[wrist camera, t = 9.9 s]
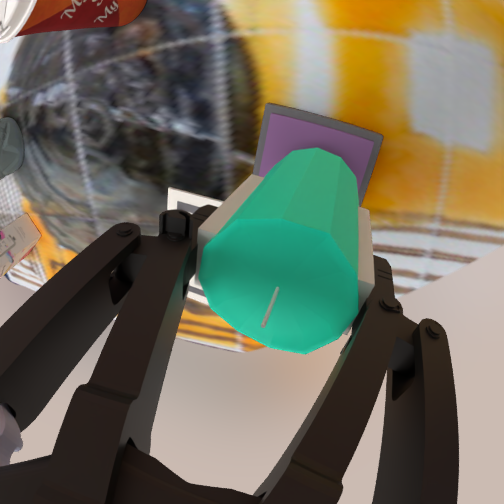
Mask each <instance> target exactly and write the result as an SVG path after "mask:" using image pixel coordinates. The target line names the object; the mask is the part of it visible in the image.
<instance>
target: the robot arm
mask: <svg viewBox="0 0 504 504" xmlns="http://www.w3.org/2000/svg"><path fill="white" fill-rule="evenodd" d="M263 179H264V177H260V176H257V175H253V174H252V175H251V176H250V177H249V178H248V179H247V180H246V181H245V182H243V183H242V184H241V185H240V186H239V187H238V188H237V189H236V190H235V191H234V192H233V193H232V194H231V195H230V196H229V197H228V198H227V199H226V200H225V201H224V202H223V203H222V204H221V205H220V206H219V207H216V206H213V205H209V204H207V205H205V206H202V207H199V208H198V209H197V210H196V211H195V212H194V213H193V214H191V213H189V212H187V211H184V210H177V209H173V210H167V211H165V212H162V213H161V214H160V216H159V235H158V236H146V235H141V230H140V227H139V226H138V225H136V224H134V223H128V222H126V223H125V222H124V223H120V224H116V225H115V226H113V227H111V228H110V229H109V230H108V231H106V232H105V233H104V234H102V235H101V236H100V237H99V238H98V239H96V240H95V241H94V242H93V243H91V244H90V245H89V246H88V247H86V248H85V249H84V250H83V251H82V252H81V253H79V254H78V255H77V256H76V257H75V258H73V259H72V260H71V261H70V262H69V263H68V264H66V265H65V266H64V267H63V268H62V269H61V270H60V271H59V272H57V273H56V274H55V275H54V276H53V277H52V278H51V279H50V280H48V281H47V282H46V283H45V284H44V285H43V286H42V287H41V288H40V289H39V290H38V291H37V292H36V293H34V294H33V296H31V297H30V298H29V299H28V300H27V301H26V302H25V303H24V304H23V305H22V306H21V307H20V308H19V309H18V310H17V311H16V312H15V313H14V314H13V315H12V316H11V317H10V318H9V319H8V320H7V321H6V322H5V323H4V324H3V325H2V326H1V327H0V504H337V502H338V501H339V499H340V496H341V494H342V491H343V485H342V478H343V476H344V473H345V472H346V469H347V467H348V465H349V463H350V461H351V459H352V457H353V455H354V452H355V451H356V448H357V446H358V443H359V441H360V439H361V437H362V434H363V432H364V430H365V427H366V425H367V423H368V420H369V418H370V415H371V412H372V410H373V407H374V405H375V402H376V399H377V397H378V394H379V391H380V388H381V385H382V382H383V379H384V376H385V373H386V370H387V383H386V402H385V415H384V426H383V436H382V445H381V453H380V460H379V467H378V473H377V480H376V486H375V491H374V496H373V502H372V504H457V496H458V479H459V478H458V477H459V436H458V417H457V404H456V394H455V385H454V377H453V369H452V363H451V356H450V350H449V345H448V339H447V335H446V332H445V330H444V328H443V327H442V326H441V325H440V324H439V323H438V322H436V321H434V320H432V319H427V318H426V319H423V320H422V321H421V322H420V323H419V324H417V323H415V322H413V321H411V320H409V319H408V318H407V317H405V316H404V315H403V308H402V306H401V304H400V302H399V301H398V300H397V299H396V298H395V295H394V286H393V281H392V280H393V278H392V270H391V266H390V265H389V263H388V261H387V260H386V259H384V258H381V257H378V256H375V255H373V246H372V234H371V223H370V213H369V210H367V209H364V208H361V207H359V206H358V230H359V257H358V291H359V309H358V314H357V316H356V317H355V318H354V320H353V321H352V322H351V324H350V325H349V326H348V327H347V329H346V330H345V331H344V332H343V334H345V335H347V334H348V332H349V331H350V329H351V327H352V335H351V336H350V338H349V339H348V341H347V343H346V344H345V346H344V348H343V349H342V351H341V353H340V354H341V355H340V357H339V359H338V361H337V363H336V365H335V367H334V369H333V371H332V372H331V374H330V376H329V378H328V380H327V382H326V384H325V386H324V387H323V389H322V391H321V393H320V395H319V396H318V398H317V400H316V402H315V403H314V405H313V407H312V409H311V410H310V412H309V414H308V415H307V417H306V419H305V420H304V422H303V424H302V425H301V427H300V429H299V430H298V432H297V433H296V435H295V437H294V438H293V440H292V442H291V443H290V444H289V446H288V448H287V449H286V451H285V452H284V454H283V455H282V457H281V458H280V460H279V461H278V463H277V464H276V466H275V467H274V469H273V470H272V471H271V473H270V474H269V476H268V477H267V478H266V479H265V481H264V482H263V483H262V484H261V485H260V487H259V488H258V489H257V490H256V492H255V493H254V494H253V495H249V494H246V493H243V492H239V491H236V490H233V489H227V488H218V487H210V486H203V485H196V484H191V483H188V482H186V481H185V480H183V479H182V478H180V477H179V476H178V475H176V474H175V473H174V472H172V471H171V470H170V469H168V468H167V467H166V466H165V465H163V464H162V463H161V462H159V461H158V460H157V459H156V458H154V457H152V456H150V455H149V453H150V445H151V431H152V426H153V422H154V418H155V414H156V410H157V405H158V401H159V397H160V393H161V389H162V385H163V381H164V378H165V374H166V370H167V366H168V362H169V358H170V355H171V351H172V347H173V344H174V340H175V337H176V333H177V329H178V326H179V322H180V319H181V315H182V312H183V308H184V305H185V302H186V298H187V295H188V291H189V282H190V280H191V278H192V277H193V276H194V274H195V278H194V284H195V285H198V286H201V284H200V281H199V279H198V275H199V270H200V265H201V259H202V254H203V249H204V246H205V245H206V244H207V243H208V242H209V240H210V239H211V238H212V237H214V236H215V235H216V234H217V233H218V232H219V231H220V230H221V228H222V227H223V226H224V225H225V224H226V222H227V221H228V220H229V219H230V218H231V216H232V215H233V214H234V213H235V212H236V211H237V209H238V208H239V207H240V206H241V205H242V204H243V202H244V201H245V200H246V199H247V198H248V197H249V195H250V194H251V193H252V192H253V191H254V190H255V188H256V187H257V186H258V185H259V184H260V183H261V182H262V180H263ZM113 270H114V271H113ZM112 271H113V272H112ZM201 287H202V286H201ZM118 313H119V314H118ZM117 314H118V316H117V318H116V320H115V323H114V325H113V327H112V329H111V331H110V334H109V336H108V338H107V340H106V343H105V345H104V347H103V349H102V352H101V354H100V357H99V359H98V361H97V364H96V366H95V369H94V371H93V374H92V376H91V378H90V380H89V382H88V383H87V384H83V385H80V386H79V387H78V388H77V389H76V390H75V392H74V394H73V396H72V399H71V402H70V404H69V407H68V410H67V412H66V415H65V417H64V420H63V423H62V426H61V428H60V432H59V434H58V437H57V440H56V443H55V446H54V449H53V452H52V455H48V456H44V457H40V458H37V459H33V460H28V461H24V462H20V463H15V464H10V458H11V455H12V453H13V452H17V451H19V450H21V448H22V446H23V441H22V439H21V434H20V433H21V432H22V431H23V430H24V429H26V428H27V427H28V426H29V425H30V424H31V423H32V422H33V421H34V420H35V419H36V418H37V416H38V415H39V414H40V413H41V411H42V410H43V409H44V408H45V406H46V405H47V403H48V402H49V401H50V399H51V398H52V397H53V395H54V394H55V392H56V391H57V390H58V389H59V387H60V386H61V384H62V383H63V382H64V380H65V379H66V378H67V377H68V375H69V374H70V373H71V371H72V370H73V369H74V368H75V366H76V365H77V364H78V362H79V361H80V360H81V359H82V357H83V356H84V355H85V354H86V352H87V351H88V350H89V348H90V347H91V346H92V345H93V343H94V342H95V341H96V339H97V338H98V337H99V336H100V335H101V334H102V332H103V331H104V330H105V329H106V327H107V326H108V325H109V324H110V323H111V321H112V320H113V319H114V318H115V317H116V315H117Z"/></svg>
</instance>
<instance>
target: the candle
mask: <svg viewBox="0 0 504 504" xmlns="http://www.w3.org/2000/svg"><path fill="white" fill-rule="evenodd" d="M358 206H359V198H358V189H357V180H356V176H355V175H354V174H353V172H352V171H351V170H350V168H349V167H348V166H347V164H346V163H345V162H344V161H343V159H342V158H341V157H339V156H337V155H334V154H332V153H329V152H327V151H325V150H322V149H320V148H309V149H301V150H294V151H292V152H291V153H289V154H288V155H287V156H286V157H284V158H283V159H282V160H281V161H279V162H278V163H277V164H276V165H275V166H274V167H273V168H272V169H271V170H270V171H269V172H268V173H267V174H266V176H265V177H264V179H263V180H262V182H261V183H260V184H259V185H258V186H257V187H256V188H255V190H254V191H253V192H252V193H251V194H250V195H249V197H248V198H247V199H246V200H245V201H244V202H243V204H242V205H241V206H240V207H239V208H238V209H237V211H236V212H235V213H234V214H233V215H232V216H231V218H230V219H229V220H228V221H227V222H226V224H225V225H224V226H223V227H222V228H221V230H220V231H219V232H218V233H217V234H216V235H215V236H214V237H212V238H211V239H210V240H209V242H208V243H207V244H206V245H205V246H204V249H203V254H202V259H201V265H200V270H199V275H198V279H199V281H200V284H201V286H202V289H203V291H204V294H205V296H206V298H207V301H208V303H209V306H210V308H211V309H212V310H213V311H214V312H215V313H217V314H218V315H219V316H220V317H221V318H223V319H224V320H225V321H226V322H227V323H229V324H230V325H231V326H232V327H233V328H235V329H236V330H237V331H239V332H240V333H242V334H244V335H246V336H248V337H250V338H252V339H254V340H256V341H258V342H260V343H262V344H263V345H265V346H267V347H269V348H273V349H278V350H284V351H289V352H295V353H301V354H307V353H309V352H312V351H314V350H316V349H318V348H320V347H323V346H325V345H326V344H329V343H331V342H333V341H335V340H337V339H338V338H339V337H340V336H341V335H342V334H343V332H344V331H345V330H346V329H347V327H348V326H349V325H350V324H351V322H352V321H353V320H354V318H355V317H356V316H357V314H358V309H359V291H358V257H359V230H358Z"/></svg>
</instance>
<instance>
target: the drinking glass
mask: <svg viewBox="0 0 504 504" xmlns="http://www.w3.org/2000/svg"><path fill="white" fill-rule="evenodd" d="M23 158H24V143H23V137H22V133H21V130H20V128H19V126H18V124H17V123H16V121H15V120H14V119H13V118H10V117H6V118H2V119H0V180H1V179H3V178H4V177H5V176H6V175H9V174H11V173H13V172H14V171H16V170H17V169H19V168H20V166H21V165H22V162H23Z"/></svg>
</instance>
